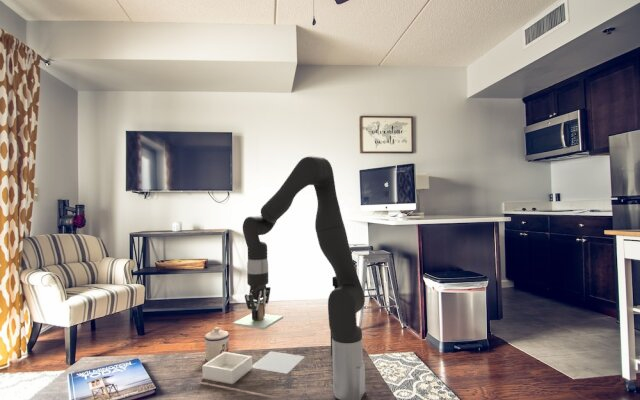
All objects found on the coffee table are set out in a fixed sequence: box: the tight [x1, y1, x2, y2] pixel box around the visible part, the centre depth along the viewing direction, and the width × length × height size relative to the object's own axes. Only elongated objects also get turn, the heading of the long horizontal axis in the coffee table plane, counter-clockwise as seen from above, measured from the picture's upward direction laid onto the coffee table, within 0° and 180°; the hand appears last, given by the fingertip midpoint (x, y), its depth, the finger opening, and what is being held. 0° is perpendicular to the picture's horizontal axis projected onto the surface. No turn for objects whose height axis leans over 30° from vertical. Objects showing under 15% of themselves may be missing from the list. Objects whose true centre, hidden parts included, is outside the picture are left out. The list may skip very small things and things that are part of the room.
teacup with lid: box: [204, 326, 230, 362], centre depth 145 cm, size 12×9×12 cm
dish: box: [201, 351, 254, 385], centre depth 129 cm, size 12×12×5 cm
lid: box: [232, 304, 284, 331], centre depth 135 cm, size 13×13×6 cm
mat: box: [252, 351, 306, 375], centre depth 138 cm, size 15×15×1 cm
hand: (258, 318), depth 135 cm, fingers closed on lid, 3 cm apart
